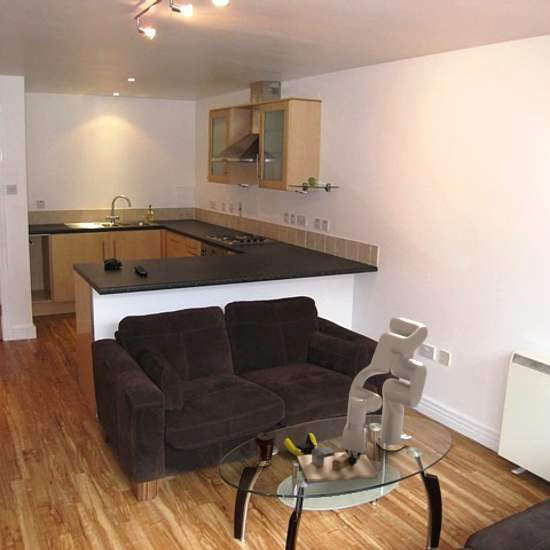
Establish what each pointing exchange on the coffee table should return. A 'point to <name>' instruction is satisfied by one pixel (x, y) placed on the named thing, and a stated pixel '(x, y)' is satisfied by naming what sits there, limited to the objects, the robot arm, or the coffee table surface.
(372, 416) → the coffee table surface
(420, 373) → the robot arm
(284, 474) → the coffee table surface
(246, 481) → the coffee table surface
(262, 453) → the coffee cup
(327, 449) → the keeper
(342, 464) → the link
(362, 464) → the pivot board
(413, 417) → the coffee table surface
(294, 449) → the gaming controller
